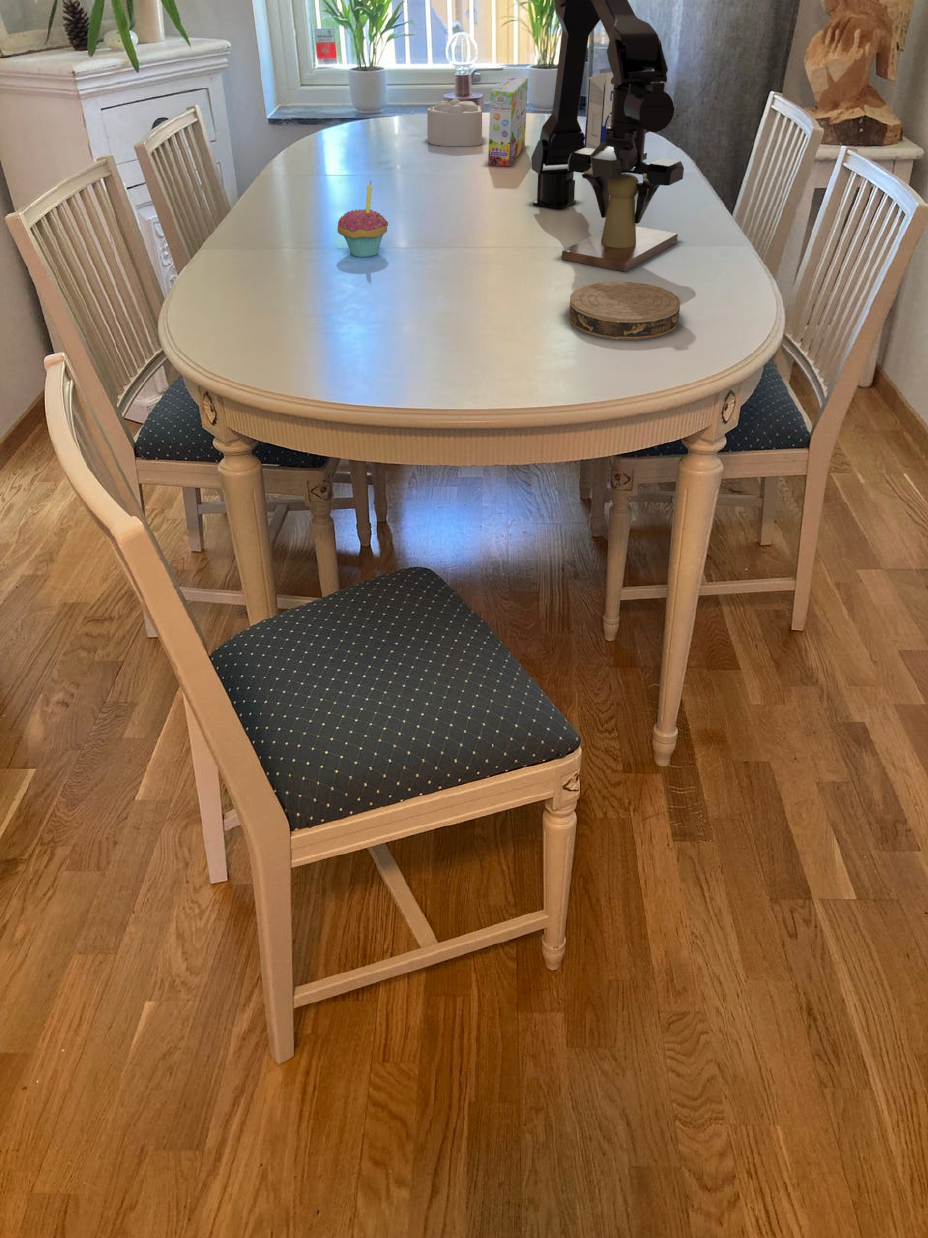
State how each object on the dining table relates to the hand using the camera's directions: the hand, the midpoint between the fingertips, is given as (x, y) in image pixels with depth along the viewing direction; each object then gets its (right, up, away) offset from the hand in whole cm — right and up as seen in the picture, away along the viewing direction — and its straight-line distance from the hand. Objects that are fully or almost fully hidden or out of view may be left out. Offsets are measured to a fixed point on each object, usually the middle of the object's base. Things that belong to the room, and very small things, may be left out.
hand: (620, 220), depth 176 cm
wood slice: (-3, -24, -23) cm, 34 cm away
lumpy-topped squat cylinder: (-29, +48, +75) cm, 93 cm away
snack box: (-17, +39, +62) cm, 75 cm away
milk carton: (+4, +30, +51) cm, 59 cm away
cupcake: (-44, -5, +3) cm, 44 cm away
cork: (0, -3, +3) cm, 4 cm away
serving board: (+1, -4, +4) cm, 5 cm away
